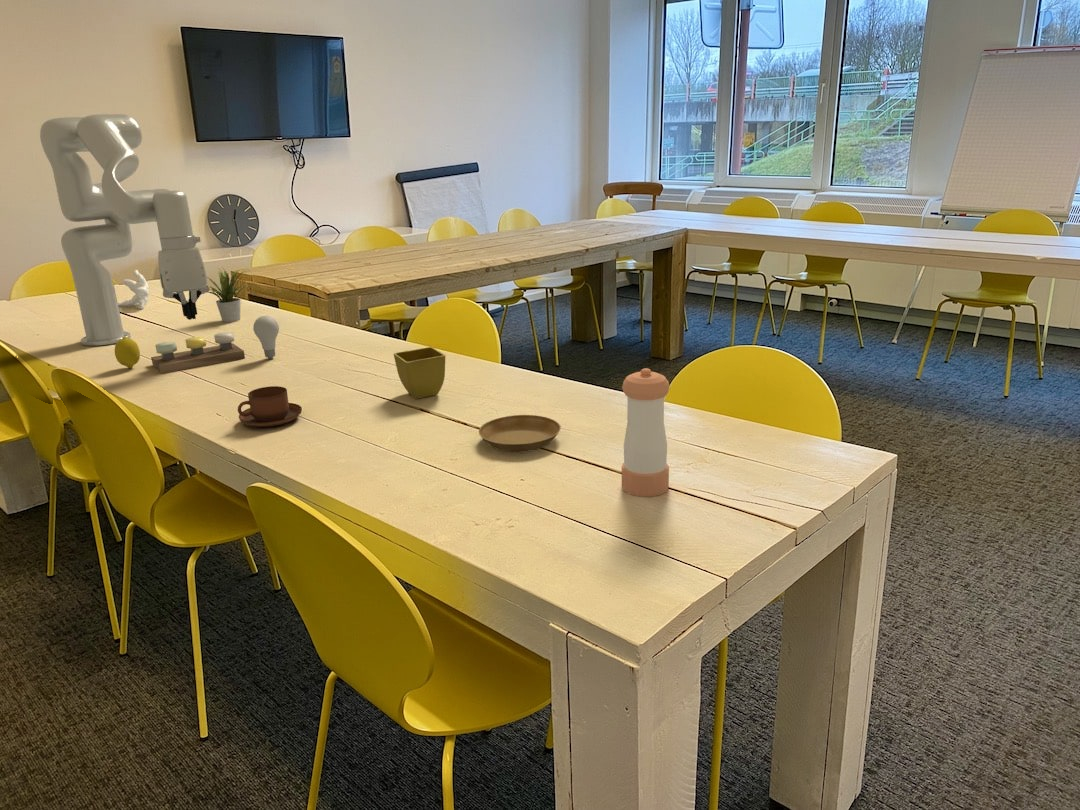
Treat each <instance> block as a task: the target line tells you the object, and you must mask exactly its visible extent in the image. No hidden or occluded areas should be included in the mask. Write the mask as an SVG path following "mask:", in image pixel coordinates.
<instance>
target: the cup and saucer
mask: <svg viewBox="0 0 1080 810" xmlns="http://www.w3.org/2000/svg"><path fill="white" fill-rule="evenodd" d="M247 397H248V400H245V401H242V402H240V403H239V405H238V407H237V413H238V414H239V415H238V420H239V421H240V422H241V423H242V424H244V425H247V426H250V427H258V428H267V427H269V428H270V427H276V426H280V425H284V424H287V423H290V422H292V421H294V420H296V419H297V418H298V417H299V416H300V415H301V413H302V410H303V409H302V406H301V405H299V404H297V403H293V402H289V397H288V389H287V388H286V387H284V386H279V385H278V386H277V385H276V386H275V385H274V386H263V387H259V388H256V389H253V390H251V391H249V392H248V394H247ZM245 405H249V408H246V409H244V410H243V411H242V408H243V406H245Z"/></svg>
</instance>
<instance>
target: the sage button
mask: <svg viewBox="0 0 1080 810" xmlns="http://www.w3.org/2000/svg"><path fill="white" fill-rule="evenodd" d="M155 351H156V353H157V354H160V356H161V355H162V361H168V360H174V353H176V351H178V348H177V344H176V342H175V341H165V342H159V343H157V344H155Z"/></svg>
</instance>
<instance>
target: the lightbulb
mask: <svg viewBox="0 0 1080 810" xmlns="http://www.w3.org/2000/svg"><path fill="white" fill-rule="evenodd" d="M252 326H253V327H252V330H253V332H254V335H255V336H256V337H257V339H258V341H259V342H260V344H261V347H262V350H263V352H264V357H265V358H268V359H269V360H272V359H273V358H274V357H275V356H276V347H277V346H276V339H277V336H278V334H279V331H280V325H279V323H278V321H277V320H276V319H275V317H273V316H271V315H270V316H269V315H262V316H261V315H260V317H258V318H257V319H255V321H254V322H253V325H252Z"/></svg>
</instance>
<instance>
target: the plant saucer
mask: <svg viewBox="0 0 1080 810" xmlns="http://www.w3.org/2000/svg"><path fill="white" fill-rule="evenodd" d="M561 429H562V428H561V425H560V423H559V422H558V421H557V420H555V419H553V418H550V417H547V416H542V415H537V414H536V415H535V414H515V415H507V416H503V417H498V418H494V419H491V420H489V421H487V422H485V423H484V424H482V425H481V426H480V427H479V429H478V434H479V436H480V437H481V439H482V440H484V442H485V443H487V444H488V445H489V446H491V448H494V449H496V450H497V451H498V450H499V451H500V452H501V451H503V452H507V453H526V452H532V451H537V450H540V449H543V448H545V447H546V446H548V445H549V444H550V443H552V442H553V440H554V439H555V438H556V437H557V435H558V434H559V433H560V431H561Z"/></svg>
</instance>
